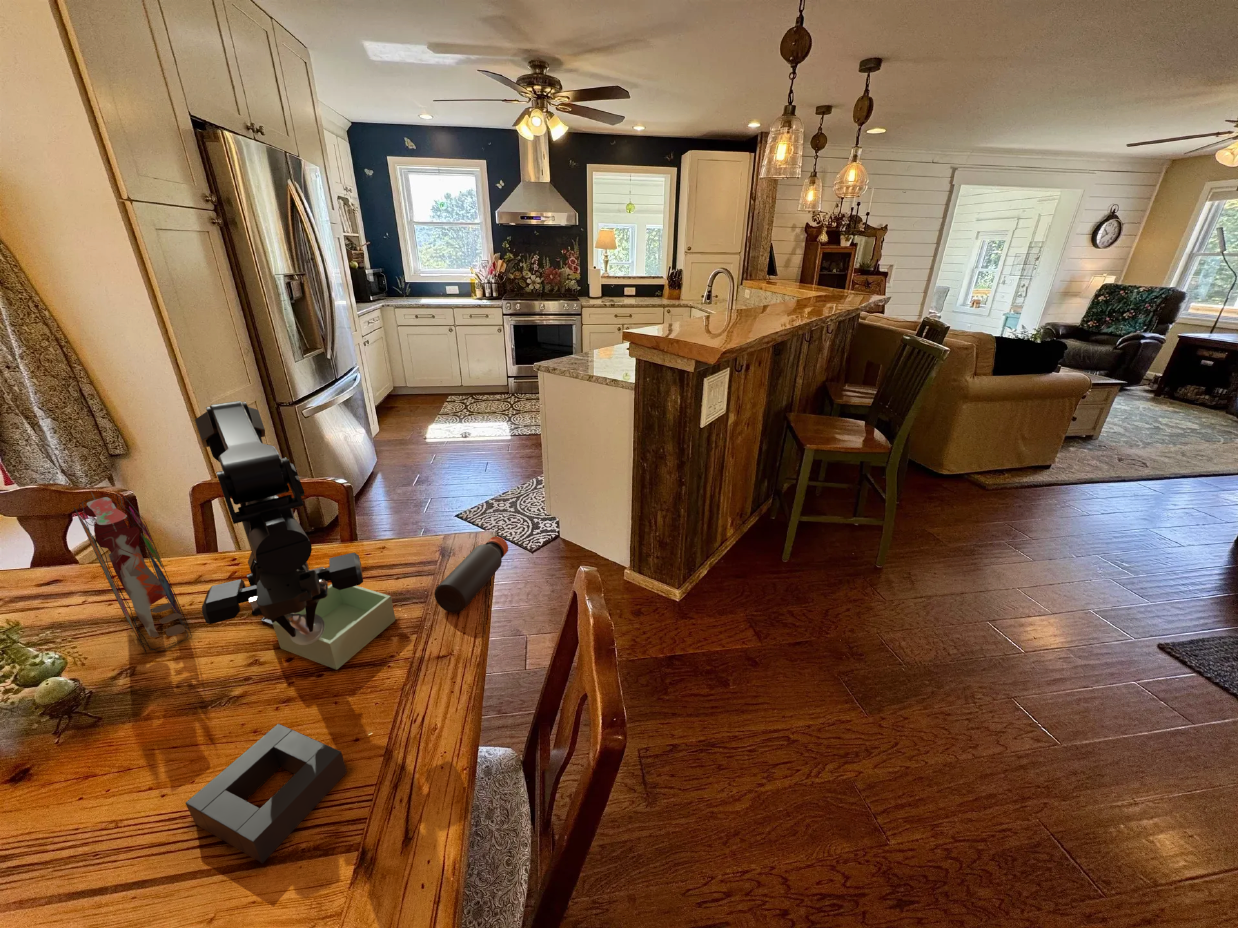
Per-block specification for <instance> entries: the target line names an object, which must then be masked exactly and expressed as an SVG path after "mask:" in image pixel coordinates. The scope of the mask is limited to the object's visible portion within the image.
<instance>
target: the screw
mask: <svg viewBox="0 0 1238 928" xmlns="http://www.w3.org/2000/svg"><path fill="white" fill-rule="evenodd" d="M288 619H289V620H290V624H291V626H292V627H294V628H295V630H296V636H295V637H292V636H291V635H290V634H289V636H290V638H291V640H292V641H293V642H295V643H296V644H299V645H309V644H312V643H314V642H316V641H317V640H318V639H319V638H320V637H321V636H322V634H323V633H324V630H325V623H324V620H323V619H322V617H320V616H319V615H317V614H315V618H314V626H313V631H312V632H309V629H308V626H307V618H306V614H303V615H301V614H295V613H291V614H290V615H289V616H288Z"/></svg>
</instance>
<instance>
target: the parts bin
mask: <svg viewBox="0 0 1238 928" xmlns="http://www.w3.org/2000/svg"><path fill="white" fill-rule="evenodd" d="M290 614H291V613H290ZM295 614H301V615H303V614H306V609H305V608H304V609H303V610H302V611H300V612H297V613H295ZM315 614H317V615H319V616H320V617H322V619H323V620H324V623H325V630H324V633H323V634H322V636H321V637H320V638H319V639H318V640H317V641H316V642H314V643H312V644H309V645H299V644H296V643H295V642H293V641H292V640H291V638H290V636H289V633H288V632H287V631H286V630H285V629H284V628H282V627H281V626H280V625H279V624H278V623H277V622H276V621H275V622H274V623H272V624H273V626H272V627H273V630H274V633H275V635H276V639H277V642H278V645H279V648H280V650H284V651H286V652H289V653H291V654H294V655H296V656H299V657H302V658H305V659H307V660H310V661H312V662H315V663H318V664H319V665H320V664H321V665H323V666H325V667H328V668H331V669H333V670H339V669H340V668H341V667H342V666H343V665H344V664H345V663H348V661H350V660H351V659H352V658H353V657H354V656H355V655H356V654H357V653H359V652H360V651H361V650H362V649H363V648H364V647H366V646H367V645H368V644H370V642H372V641H373V640H374V639H375V638H376V637H378V635H380V634H381V633H383V632H384V631H385V630H386V629H387V628H389V626H390V625H392V624H393V623H394V622H395V621H396V619H397V618H396V614H395V610H394V605H393V599H392V596H391V595H389V594H385V593H381V592H379V591H375V590H373V589H369V588H365V587H363V586H360V585H357V586H354V587H350V588H346V589H342V590H338V589H336V588H333V587H332V583H331V584H329V585H328V595H327V597H325V598H323V599H320V600H319V602H318V604H317V607H316V611H315Z"/></svg>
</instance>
